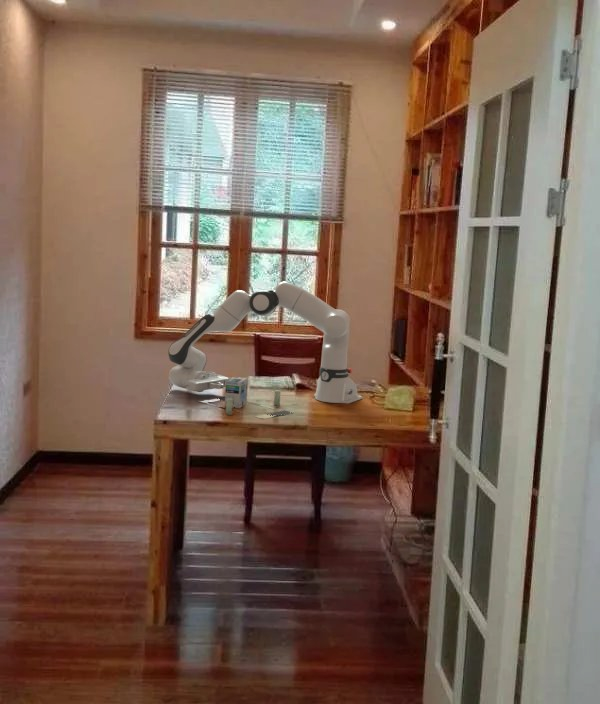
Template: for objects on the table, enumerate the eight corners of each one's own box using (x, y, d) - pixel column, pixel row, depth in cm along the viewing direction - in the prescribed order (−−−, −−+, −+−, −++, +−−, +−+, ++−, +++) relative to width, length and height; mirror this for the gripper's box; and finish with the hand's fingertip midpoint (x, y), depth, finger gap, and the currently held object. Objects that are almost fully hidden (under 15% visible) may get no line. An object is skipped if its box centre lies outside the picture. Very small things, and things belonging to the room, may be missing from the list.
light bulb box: (240, 408, 318) (241, 382, 317) (224, 406, 320) (225, 380, 318) (247, 403, 329) (248, 377, 327) (231, 401, 330) (232, 376, 328)
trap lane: (237, 394, 344) (238, 380, 344) (303, 410, 321) (304, 396, 320) (184, 403, 321) (185, 388, 320) (252, 421, 298) (252, 406, 297)
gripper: (180, 376, 329) (203, 382, 321) (215, 371, 345) (238, 376, 336) (179, 391, 330) (202, 397, 321) (215, 385, 346) (238, 391, 337)
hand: (221, 386), depth 329 cm, fingers closed
